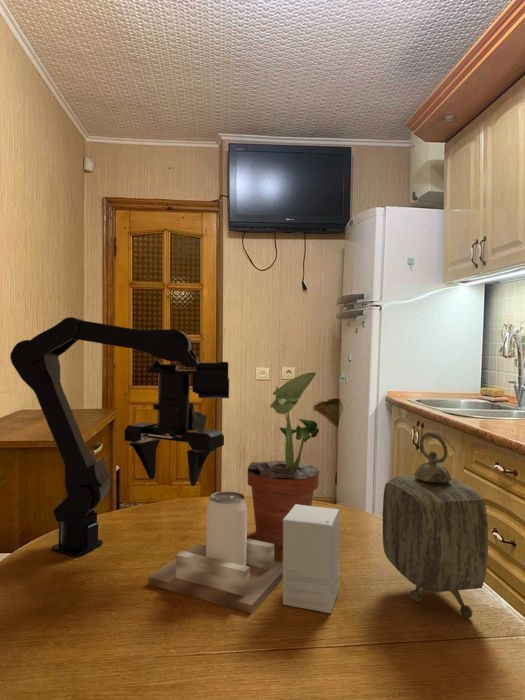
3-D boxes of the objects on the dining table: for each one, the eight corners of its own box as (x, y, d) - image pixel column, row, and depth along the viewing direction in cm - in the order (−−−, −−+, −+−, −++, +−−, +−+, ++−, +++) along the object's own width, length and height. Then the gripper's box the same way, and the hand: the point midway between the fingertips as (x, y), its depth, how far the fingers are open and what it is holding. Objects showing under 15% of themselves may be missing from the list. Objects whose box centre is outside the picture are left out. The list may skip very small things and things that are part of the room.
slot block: (148, 584, 74) (148, 553, 74) (197, 550, 87) (197, 523, 87) (251, 613, 67) (252, 579, 67) (288, 571, 79) (289, 542, 79)
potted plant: (336, 534, 96) (339, 359, 95) (289, 558, 84) (293, 360, 84) (276, 514, 106) (279, 357, 106) (227, 534, 94) (230, 357, 94)
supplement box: (340, 590, 74) (341, 508, 74) (330, 615, 67) (332, 525, 67) (293, 581, 76) (295, 502, 76) (280, 605, 69) (282, 518, 69)
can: (250, 578, 74) (251, 501, 74) (208, 583, 73) (210, 504, 72) (241, 560, 80) (242, 489, 80) (202, 564, 79) (204, 491, 79)
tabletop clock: (486, 625, 65) (490, 442, 65) (426, 631, 63) (430, 443, 63) (428, 574, 79) (432, 424, 79) (378, 579, 77) (381, 425, 77)
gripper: (238, 397, 91) (237, 478, 91) (159, 391, 99) (158, 466, 99) (208, 403, 81) (206, 494, 81) (122, 396, 89) (121, 479, 89)
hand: (172, 482), depth 88 cm, fingers open, 9 cm apart
